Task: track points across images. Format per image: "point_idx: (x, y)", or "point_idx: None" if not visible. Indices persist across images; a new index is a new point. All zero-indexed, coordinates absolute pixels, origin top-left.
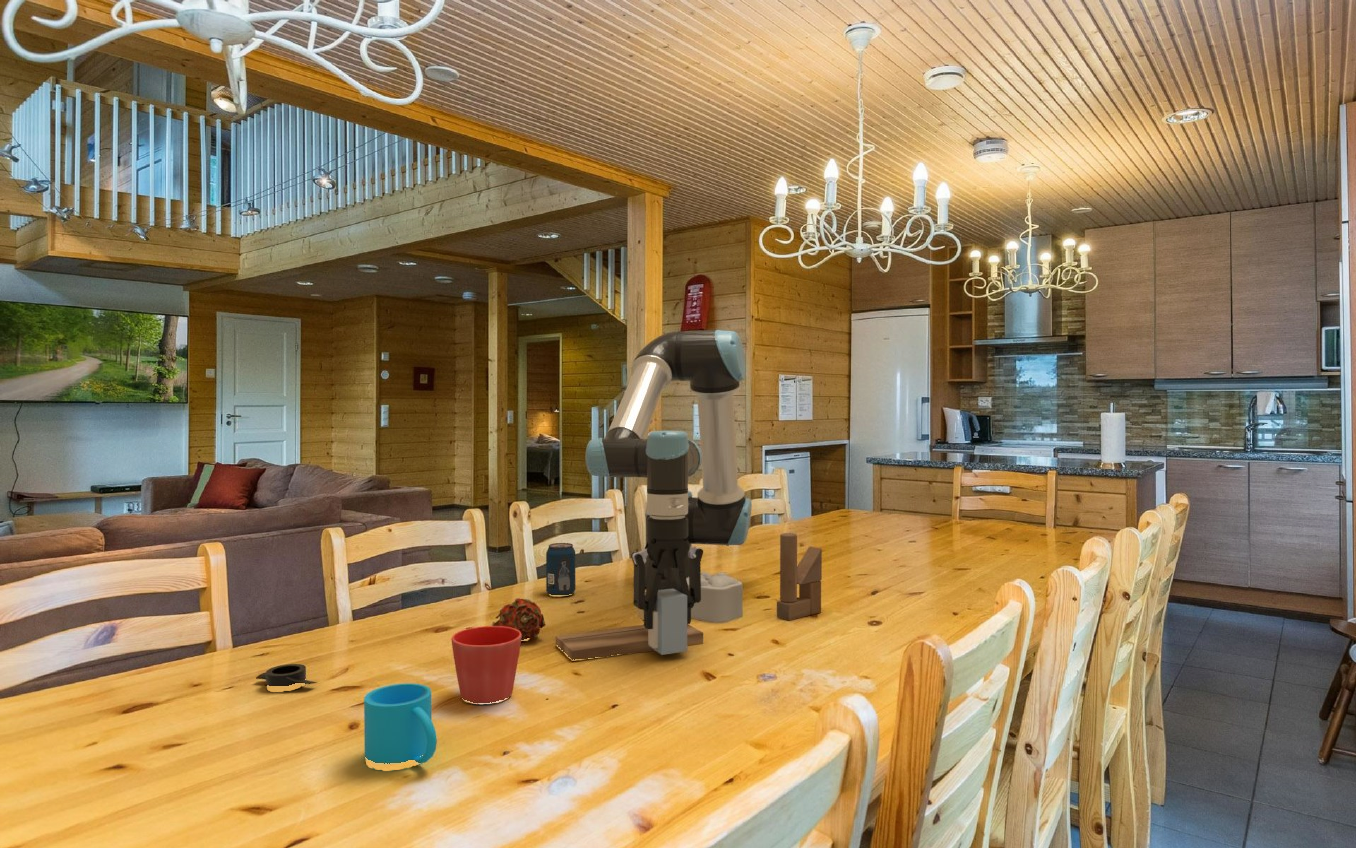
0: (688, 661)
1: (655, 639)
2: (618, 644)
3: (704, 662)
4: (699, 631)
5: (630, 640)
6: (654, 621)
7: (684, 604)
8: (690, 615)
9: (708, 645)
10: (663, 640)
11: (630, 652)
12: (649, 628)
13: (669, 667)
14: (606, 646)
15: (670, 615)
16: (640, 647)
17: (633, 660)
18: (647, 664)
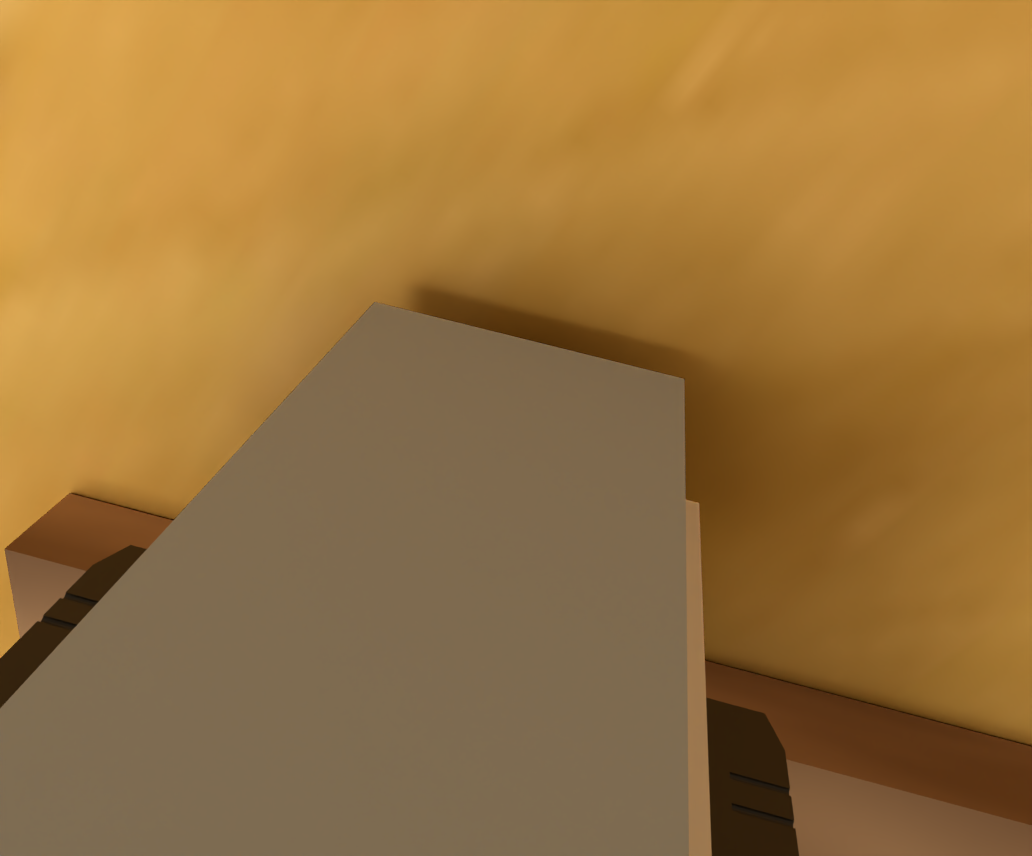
0: (440, 191)
1: None
2: (876, 787)
3: (309, 47)
4: (22, 593)
5: None
6: (702, 757)
7: (57, 744)
8: (45, 624)
9: (49, 429)
10: (658, 455)
11: (746, 681)
12: (740, 716)
13: (735, 160)
14: (1006, 817)
15: (488, 674)
16: None
17: (855, 548)
18: (843, 385)
